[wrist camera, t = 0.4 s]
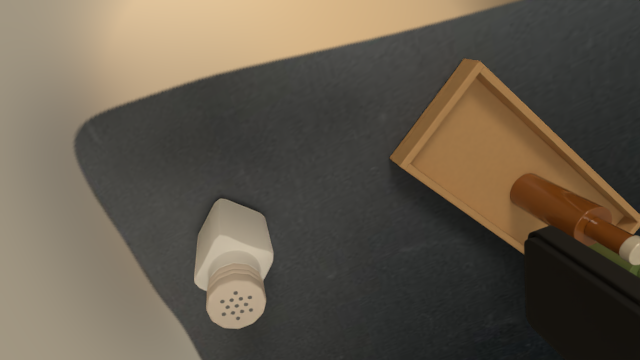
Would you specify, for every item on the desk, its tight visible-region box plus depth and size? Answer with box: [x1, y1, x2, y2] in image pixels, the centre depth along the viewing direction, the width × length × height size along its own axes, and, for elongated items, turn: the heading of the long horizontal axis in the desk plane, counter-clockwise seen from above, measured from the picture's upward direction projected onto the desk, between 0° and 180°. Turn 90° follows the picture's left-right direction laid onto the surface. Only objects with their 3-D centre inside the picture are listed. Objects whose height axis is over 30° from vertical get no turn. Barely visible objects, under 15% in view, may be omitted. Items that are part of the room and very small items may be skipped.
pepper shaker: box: [194, 198, 273, 329], centre depth 26 cm, size 4×4×10 cm
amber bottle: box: [510, 173, 640, 265], centre depth 30 cm, size 3×3×11 cm
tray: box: [390, 59, 640, 254], centre depth 35 cm, size 25×9×2 cm, turn 54°
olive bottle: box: [588, 243, 640, 278], centre depth 33 cm, size 3×3×11 cm
